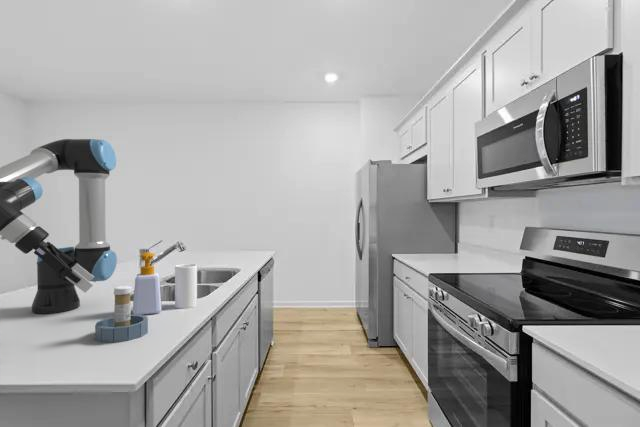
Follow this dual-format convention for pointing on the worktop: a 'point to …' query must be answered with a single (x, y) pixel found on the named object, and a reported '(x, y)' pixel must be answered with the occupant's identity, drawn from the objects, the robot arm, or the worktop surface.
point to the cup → (185, 286)
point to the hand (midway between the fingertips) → (90, 284)
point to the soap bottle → (147, 289)
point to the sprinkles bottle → (122, 306)
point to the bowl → (121, 329)
